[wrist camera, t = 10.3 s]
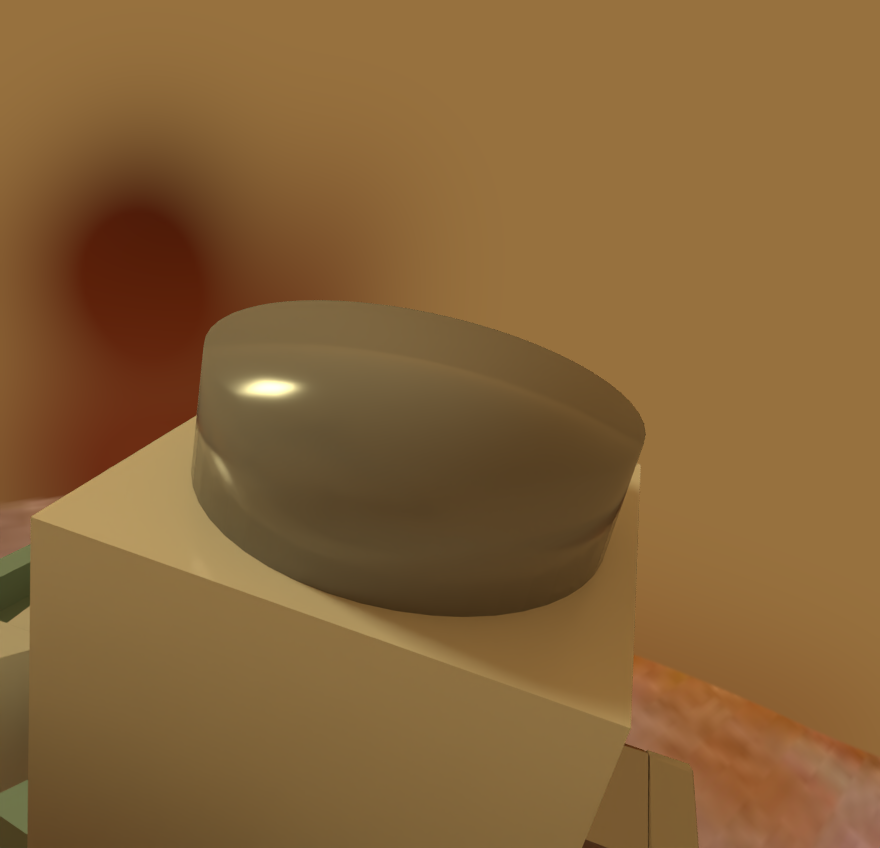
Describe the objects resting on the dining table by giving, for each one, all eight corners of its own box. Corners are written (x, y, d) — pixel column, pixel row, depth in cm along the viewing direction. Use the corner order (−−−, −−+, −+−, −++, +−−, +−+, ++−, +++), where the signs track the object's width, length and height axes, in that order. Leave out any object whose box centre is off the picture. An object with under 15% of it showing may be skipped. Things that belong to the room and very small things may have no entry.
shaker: (24, 1157, 9) (32, 370, 5) (218, 842, 14) (301, 268, 10) (383, 1335, 9) (691, 579, 5) (470, 945, 13) (673, 372, 9)
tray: (-212, 722, 26) (-220, 664, 25) (139, 532, 40) (142, 490, 39) (343, 1120, 20) (360, 1062, 19) (535, 727, 34) (550, 682, 33)
